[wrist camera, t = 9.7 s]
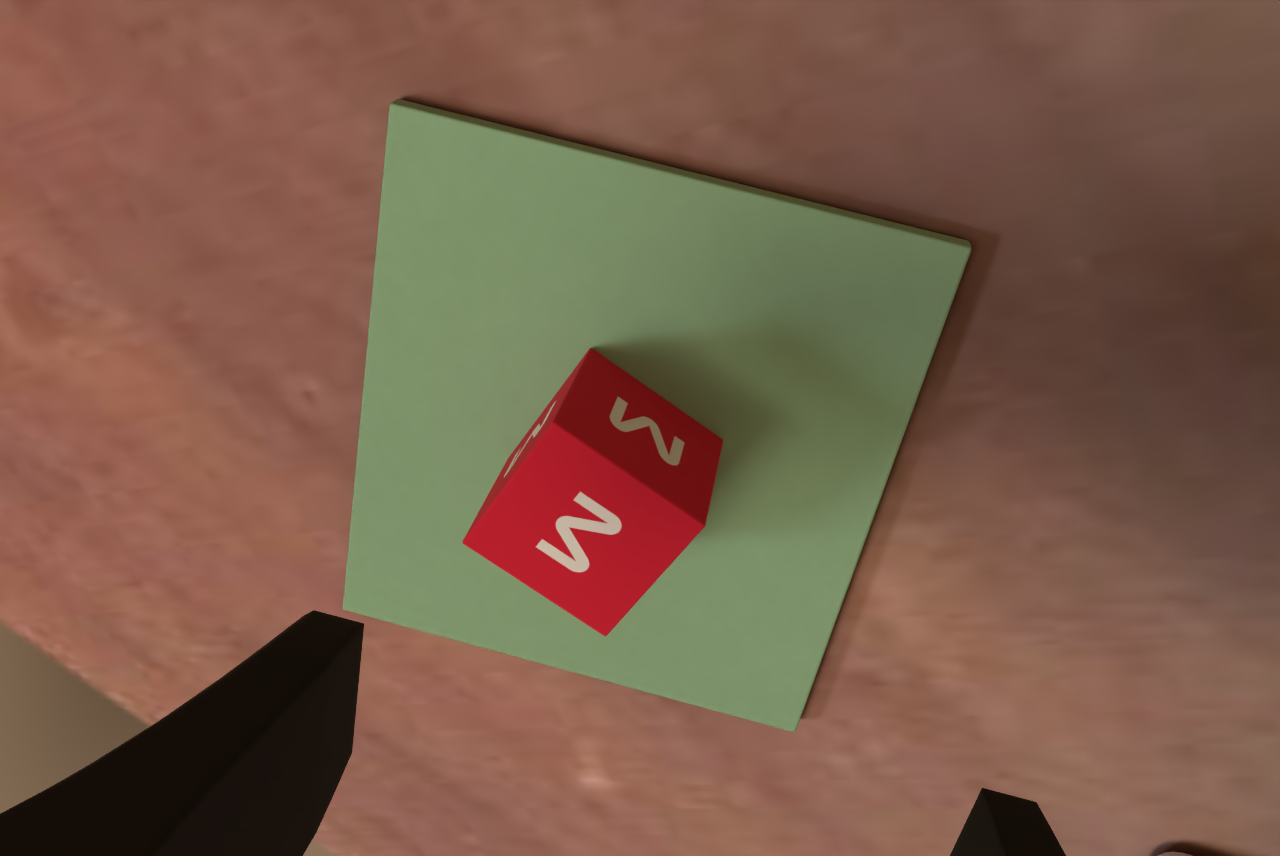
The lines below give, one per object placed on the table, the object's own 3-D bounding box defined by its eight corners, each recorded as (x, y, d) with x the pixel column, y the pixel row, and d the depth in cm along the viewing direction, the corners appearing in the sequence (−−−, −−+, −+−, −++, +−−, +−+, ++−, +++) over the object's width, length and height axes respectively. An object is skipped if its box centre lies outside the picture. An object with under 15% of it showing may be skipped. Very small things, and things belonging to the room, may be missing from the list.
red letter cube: (634, 543, 22) (605, 638, 20) (507, 459, 22) (460, 543, 19) (724, 439, 21) (706, 525, 18) (590, 346, 21) (552, 421, 18)
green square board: (795, 720, 24) (795, 733, 24) (349, 599, 25) (341, 610, 24) (970, 240, 19) (972, 248, 19) (396, 97, 20) (389, 102, 19)
